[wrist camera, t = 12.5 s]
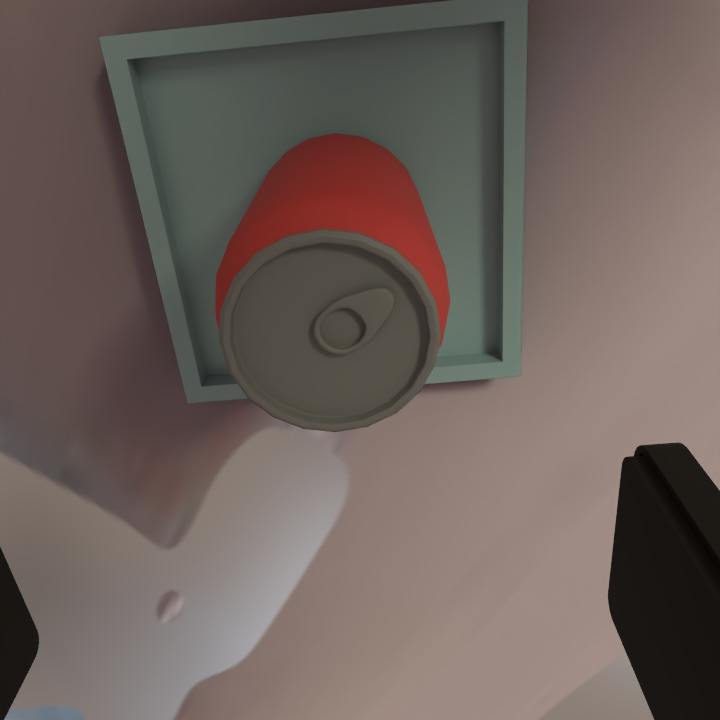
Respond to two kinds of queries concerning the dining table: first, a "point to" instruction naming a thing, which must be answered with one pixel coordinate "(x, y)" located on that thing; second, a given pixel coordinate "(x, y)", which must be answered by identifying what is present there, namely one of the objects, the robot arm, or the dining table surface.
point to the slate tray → (322, 117)
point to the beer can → (333, 288)
